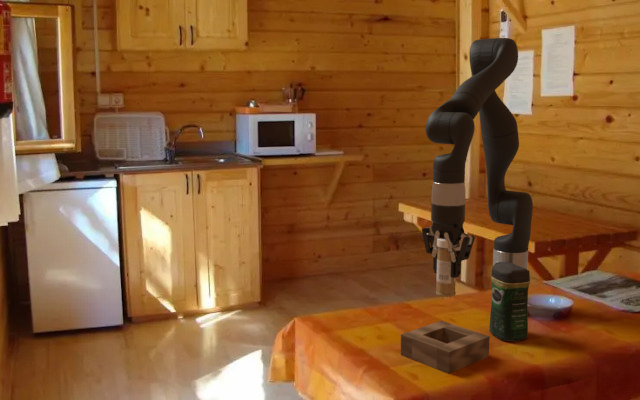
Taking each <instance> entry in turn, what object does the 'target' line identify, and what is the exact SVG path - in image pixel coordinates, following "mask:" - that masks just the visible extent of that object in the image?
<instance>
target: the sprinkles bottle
mask: <svg viewBox="0 0 640 400" xmlns="http://www.w3.org/2000/svg"><path fill="white" fill-rule="evenodd" d="M437 246H438V247H437V248H438V252H437V274H436V291H435V294H436V296H438V297H442V298H451V297H455V296H456V293H457V292H456V281H457V278H452V277H451V262H452V260H451V255H450V252H448V241H447V240H445V239H443V238H439V239H437ZM453 247H454V248H456V247H457V245H454V246H453Z"/></svg>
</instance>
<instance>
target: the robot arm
mask: <svg viewBox="0 0 640 400" xmlns="http://www.w3.org/2000/svg"><path fill="white" fill-rule="evenodd" d="M518 49H519V48H518V45H517V43H516V42H515V40H514V39H512V38H510V37H494V38H493V37H492V38H481V39H480V38H479V39H475V40H473V42H472V43H471V45H470V47H469V56H468V57H469V66H470V72H471V76H470V77H469V78H467V79H466V80H465V81H463V82H462V83H461V84H460V85H459V86H458V87H457V88H456V91H455V92H454V93H453V94H452V95H451V97H450V99H449V100H447V101H445V102H444V103H442V104H441V105H440V106H439V107H437V108H435V109H434V110H433V112H431V113H430V115H429V116H428V118H427V120H426V124H425V129H424V130H425V135H426V137H427V138H428V140H429V141H430V142H432V143H435V144H440V145H441V144H443V145H453V149H452V150H451V152H450V153H443V154H438V155H437V156H435V157H434V159H433V165H432V186H431V204H430V206H431V207H430V208H431V209H430V220H431V222H432V224H431V226H427V227H422V228H421V234H422V238H423V242H424V248H425V252H426V253H427V254H430V255H431V257H432V258H433V259H432V262H433V263H432V269H433V271H434V273H435V274H436V275H437V252H438V248H437V247H438V246H437V239H439V238H443V239H445V240H447V241H448V252H450V255H451V260H452V262H451V277H452V278H456V279H457V278H459V277H460V275H461V272H462V271H461V269H462V262H463V261H465V260H466V261H467V260H469V258H470V256H471V252H472V249H473V246H474V242H475V236H474V235H473V234H472V235H470V234H467V233H466V232H465V230H464V223H465V221H466V219H465V218H466V193H467V192H466V182H465V181H466V180H465V179H466V177H465V176H466V162H467V158H468V154H469V150H470V146H471V143H472V141H473V137H474V134H475V129H476V128H475V121H474V119H476V116H477V115H478V114H479V123H480V133H481V139H482V140H481V141H482V148H483V152H484V153H483V154H484V161H485V169H486V170H485V171H486V180H487V183H486V185H487V208H488V214H489V216H490V217H489V218H490V219H491V221H492V222H494V223H497V224H502V225H508V226H512V232H511V233H508V234H504V235H499V236H496V237H495V238H494V240H493V255H492V257H493V258H492V267H493V266H494V265H495V263H497V262H511V263H513V264H515V265H518V266H520V267H522V268H526V269H527V270H529V268H528V266H529V246H530V241H531V239H530V238H531V233H532V232H531V230H532V220H533V209H534V207H533V206H534V203H533V198H532V196H531V194H530V193H528V192H525V191H524V192H523V191H514V190H507V189H506V184H505V182H506V181H505V180H506V179H505V178H506V173H507V172H508V169H509V167H510V165H511V164H512V162H513V161H514V159H515V157H516V155H517V153H518V151H519V147H520V140H519V130H518V127H519V126H518V124H517V123H518V122H517V119H516V117H515V115H514V114H513V113H512V112H511V110H510V108H508V107H507V105H506V103H505V102H504V101H503V100H502V99H501V98H500V97H499V94H498V93H497V92H496V90H497V89H498V88H499V87H500V86H501V85H502V84H503V83H504V82H505V81H506V80H507V79H508V78H509V77H510V76H511V75H512V74H513V73H514V71H515V70H516V68H517V65H518V61H519V50H518ZM454 245H457V247H456V248H454V247H453V246H454Z"/></svg>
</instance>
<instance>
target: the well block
mask: <svg viewBox="0 0 640 400" xmlns="http://www.w3.org/2000/svg"><path fill="white" fill-rule="evenodd" d="M490 338H491V337H490V336H489V335H487V334H484V333H480V332H477V331H474V330H471V329H468V328H465V327H464V326H463V327H462V326H458V325H457V324H453V323H450V322H447V321H443V320H439V321H436V322H433V323H431V324H427V325H425V326H422V327H421V326H420V327H419V328H416V329H413V330H410V331H407V332H405V333H404V332H403V333H402V334H400V355H401V356H403V357H405V358H407V359H411V360H414V361H415V362H418V363H421V364H422V365H425V366H428V367H431V368H433V369H435V370H439V371H441V372H444V373H446V374H448V375H449V374H451V373H453V372H455V371H458V369H459V370H461V369H464V368H465V367H468V366H470V365H472V364H475V363H478V362H480V361H483V360H484V359H487V358H489V357H490ZM460 368H461V369H460Z"/></svg>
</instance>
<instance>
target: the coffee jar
mask: <svg viewBox="0 0 640 400" xmlns="http://www.w3.org/2000/svg"><path fill="white" fill-rule="evenodd" d="M530 272H531V271H530V270H529V269H528V270H527V269H526V268H522V267H520V266H518V265H515V264H513V263H511V262H497V263H495V265H494V266H493V265H492V267H491V274H490V275H491V276H490V277H491V278H490V279H491V281H490V282H491V302H490V303H491V305H490V314H489V315H490V316H489V317H490V318H489V327H488V328H489V332H490V333H491V334H492V335H493V337H496V338H498V339H500V340H502V341H505V342H506V341H509V342H510V341H511V342H520V341H523V340H525V339H527V338H528V335H529V333H528V332H529V326H528V325H529V324H528V323H529V322H528V321H529V319H528V315H529V314H528V311H529V310H528V309H529V308H528V307H529V306H528V304H529V303H528V302H529V301H528V300H529V299H528V298H529V288H530V284H531V279H530V278H531V275H530V274H531V273H530Z"/></svg>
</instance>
